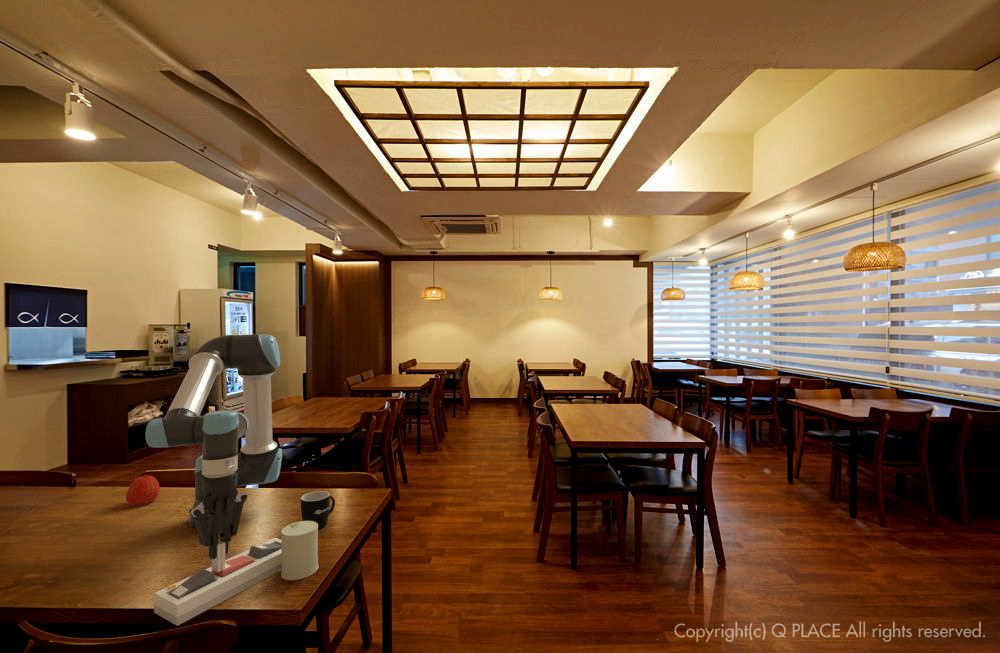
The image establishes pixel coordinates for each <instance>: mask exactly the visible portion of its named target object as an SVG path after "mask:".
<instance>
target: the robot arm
mask: <svg viewBox="0 0 1000 653" xmlns="http://www.w3.org/2000/svg"><path fill="white" fill-rule="evenodd" d="M280 365H281V354H280V346H279V344H278V340H277V339H276V337H275V336H274V335H271V334H261V333H260V334H259V333H257V334H223V335H220V336H216V337H214V338H211V339H210V340H208V341H206V342H204V343H203V344H202V345H201V346H199V347H198V348H197V349H196V350H195V351H194V353H193V354H192V355H191V357H190V358H189V361H188V368H189V369H188V371H187V373H186V374H185V377H183V380H182V382H181V384H180V387H179V388H178V390H177V392H176V394H175V397H174V398H173V401H172V402H171V404H170V406H169V409H168V410H167V413H166V414H165V416H164V417H159V418H154V419H151V420H149V421H148V423H147V425H146V427H145V428H146V429H145V441H146V444H147V445H148V446H149V448H154V449H155V448H173V447H182V446H194V445H195V446H196V445H202V455H201V456H198V457H197V459H196V460H195V467H194V469H195V470H194V493H195V495H194V496H195V499H194V502H193V505H192V508H190V509H189V511H188V512H189V513H188V514H189V516H188V526H189V527H191V528H194V529H196V532H197V537H198V541H199V544H200V545H202V546H204V547H208V559H211V567H212V570H214V571H216V572H220V571H221V570H223V569H224V568H225V560H226V555H227V554H228V553H229V546H230V545H229V542H231V541H232V537H235V536H236V535H237V534H238V530H239V525H240V520H241V517H242V512H243V509H244V504H245V503H246V501H247V499H248V495H247V494H244V493H239V490H238V488H237V487H245V486H255V485H264V484H268V483H274V482H276V481H277V480H278V479H279V476H280V472H281V468H282V467H281V466H282V461H283V460H282V459H283V449H282V448H278V443H277V442H276V441H275V440H273V410H272V406H273V404H272V376H273V375H274V374H275V373H276V369H277V368H279V367H280ZM231 369H234V370H235V369H237V370H236V371H237V375H238V376H239V377H240V378H242V390H243V391H242V393H243V412H244V413H242V412H239V411H236V410H233V409H231V410H230V409H228V410H227V409H226V410H216V411H215V410H214V411H210V412H207V413H205V414H204V415H201V413H202V411H203V410H204V409H203V408H204V406H205V404H206V402H207V399H208V396H209V394H210V392H211V389H212V387H213V385H214V383H215V380H216V377H217V376H219V375H220V374H221V373H222V372H223V370H231ZM243 436H244V442H245V443H244V444H243V446H241V448H240V452H239V440H240V439H241V438H242V437H243Z"/></svg>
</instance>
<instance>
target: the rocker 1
mask: <svg viewBox="0 0 1000 653" xmlns="http://www.w3.org/2000/svg"><path fill="white" fill-rule="evenodd" d="M190 576H191V577H190ZM190 576H189V577H190V578H189V579H187V580H186V581H185V582H183V583H182V584H181V585H179V586H178V587H177V588H175V589H174V590H173V591H171V592H170V593H169V595H170V596H172V597H174V598H176V599H180V598H182V597H184V596H186V595H188V594H190V593H192V592H194V591H196V590H198V589H201V588H203V587H205V586H207V585H208V584H209V583H211V582H212V581H213V580H214V579H215V577H214V575H213V573H212V572H210V571H207V570H205V569H204V568H201V569H199V570H198V571H197V572H195V573H193V576H192V575H190Z"/></svg>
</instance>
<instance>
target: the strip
mask: <svg viewBox="0 0 1000 653" xmlns="http://www.w3.org/2000/svg"><path fill="white" fill-rule="evenodd" d="M272 543H277V544H280V545H282V539H281V538H277V537H273V538H271V539H268V540H266V541H264V542H262V543H260V544H259V545H264V544H272ZM249 551H250V548H249V549H247V550H244V551H243V552H241V553H238V554H236V555H234V556H231V557H229V558H228V559H225V562H226V561H229V560H232V559H235V558H237V557H240V556H245V557H248V558H250V559H253V563H251V564H249V565H247V566H245V567H243V568H241V569H239V570H237V571H235V572H233V573H231V574H229V575H227V576H225V577H223V578H221V577H219V576H216V575H214V574H213V575H214V577H215V579H214V580H213V581H212V582H211V583H209V584H208V585H207V586H205V587H203V588H201V589H198V590H196V591H194V592H192V593H190V594H188V595H186V596H184V597H182V598H180V599H176V598H174V597H172V596H170V595H169V593H170V592H171V591H173V590H174V589H175V588H177V587H178V586H179V585H181V584H182V583H183V582H185V581H186V580H187V579H189V578H190V577H191V576H193V575H194V574H193V575H190V576H188V577H186V578H184V579H182V580H179V581H178V582H176V583H171V584H169V585H167V587H164V588H162V589H161V590H158V591H156V592H154V594H153V597H154V598H153V600H154V601H153V606H154V608H153V612H154V614H156V615H158V616H159V617H161V618H163V619H164V620H165V621H168V622H170V623H171V624H173V625H175V626H177V627H178V626H181V624H183V623H185V622H188V621H189V620H191V619H192V618H195V617H196V616H199V615H201V614H202V613H204V612H206V611H208V610H209V609H213V607H215V606H217V605H219V604H220V603H222V602H225V601H226V600H228V599H230V598H232V597H234V596H235V595H237V594H239V593H241V592H242V591H243V592H244V591H245V590H247V589H248V588H250V587H252V586H254V585H256V584H258V583H259V582H262V581H264V580H265V579H267V578H269V577H271V576H273V575H274V574H277V573H278V572H280V571H282V549H280V550H278V551H276V552H274V553H272V554H270V555H268V556H264V557H258V556H255V555H252V554H249ZM205 570H207V571H210V572H212V566H210V567H208V568H206V569H205Z"/></svg>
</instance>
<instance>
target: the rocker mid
mask: <svg viewBox="0 0 1000 653" xmlns="http://www.w3.org/2000/svg"><path fill="white" fill-rule="evenodd" d="M251 563H253V559H250V558H248V557H245V556H240V557H237V558H235V559H232V560H229V561H226V562H225V568H224V569H223V570H221V571H220V572H216V571H214V570H212V573H213V574H214V575H216V576H219V577H221V578H223V577H225V576H227V575H229V574H231V573H233V572H235V571H237V570H239V569H241V568H243V567H245V566H247V565H249V564H251Z"/></svg>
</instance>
